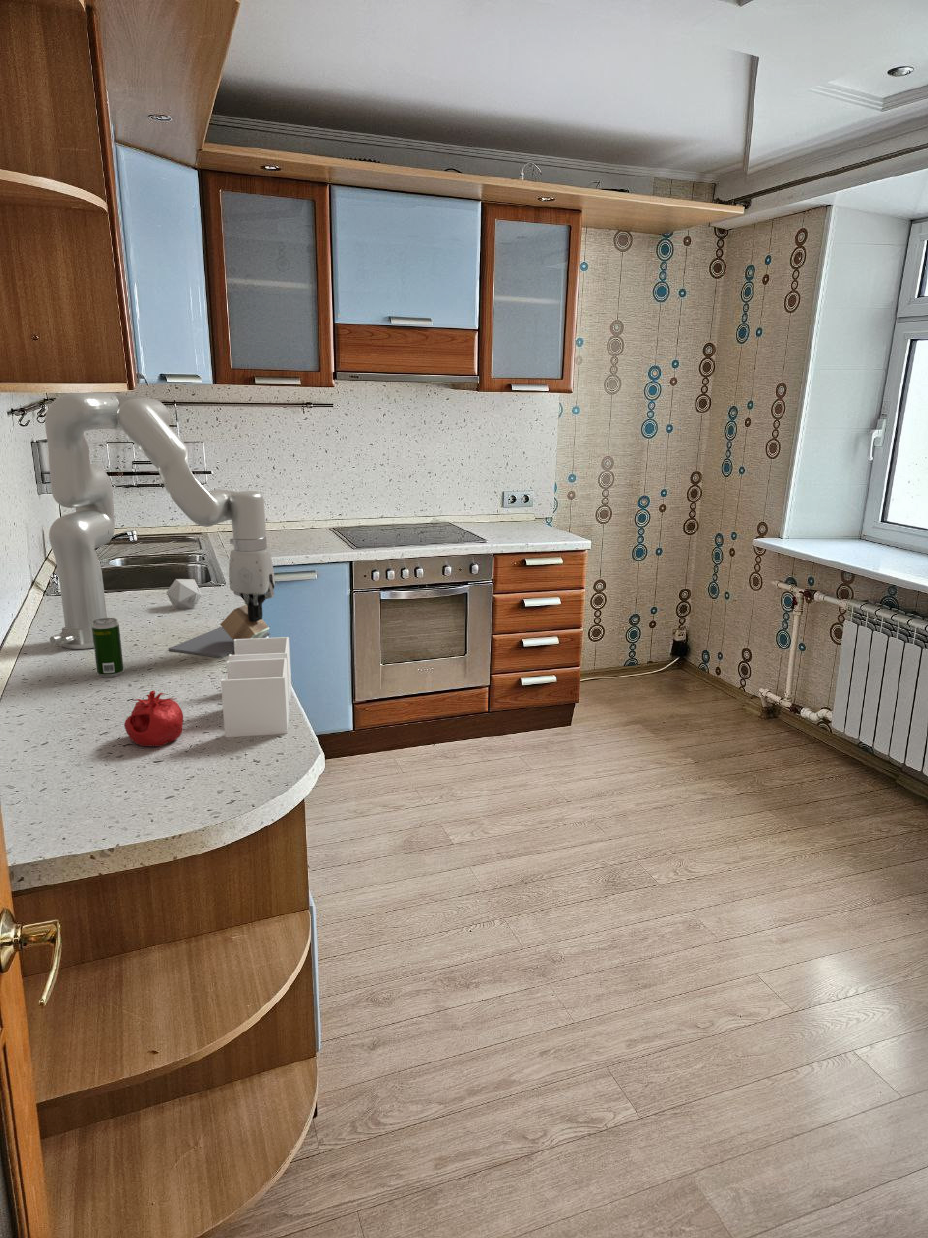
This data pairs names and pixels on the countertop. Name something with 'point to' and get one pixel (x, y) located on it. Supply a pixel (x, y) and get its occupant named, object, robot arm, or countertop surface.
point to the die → (184, 594)
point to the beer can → (107, 647)
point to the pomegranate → (154, 721)
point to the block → (243, 625)
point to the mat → (209, 644)
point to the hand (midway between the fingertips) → (255, 620)
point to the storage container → (257, 688)
